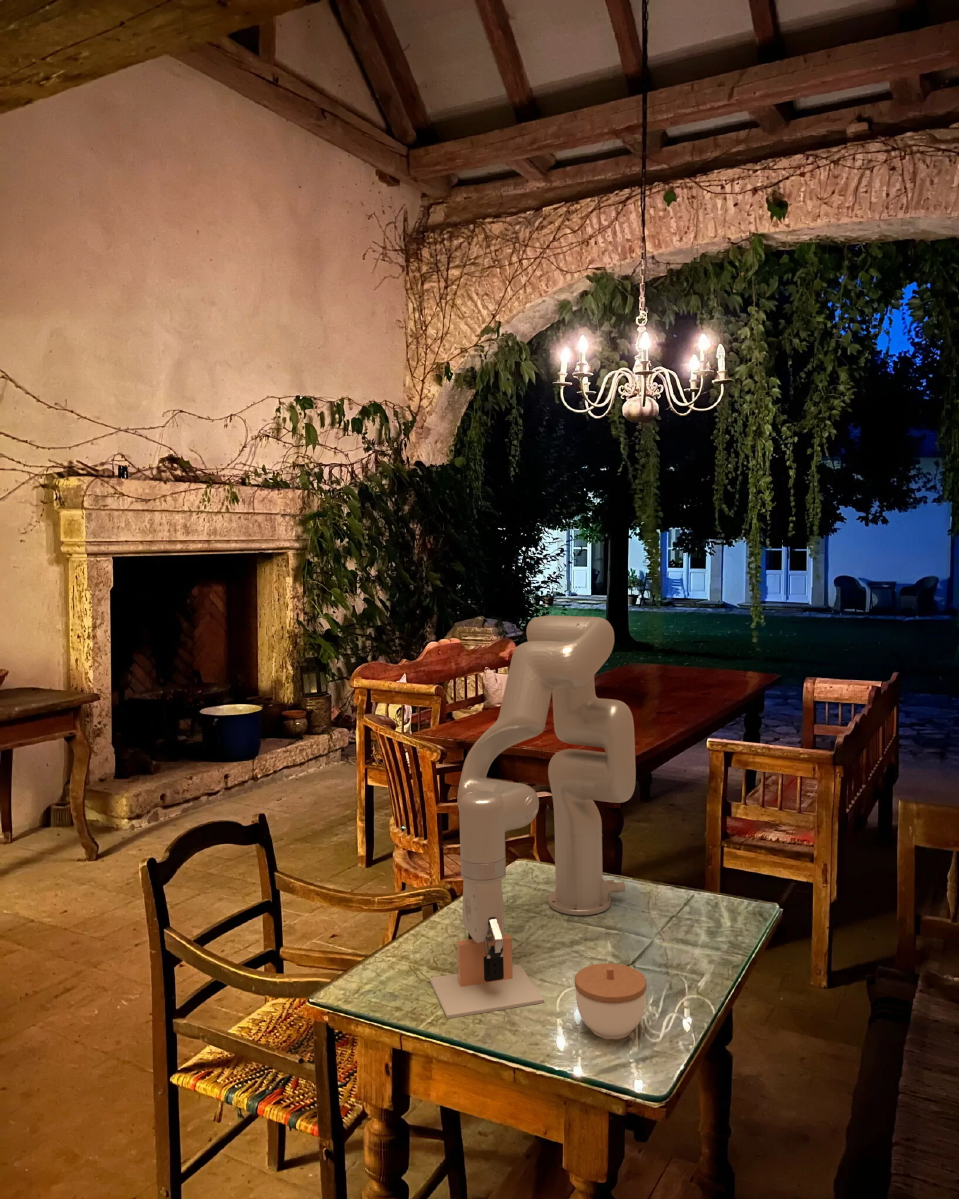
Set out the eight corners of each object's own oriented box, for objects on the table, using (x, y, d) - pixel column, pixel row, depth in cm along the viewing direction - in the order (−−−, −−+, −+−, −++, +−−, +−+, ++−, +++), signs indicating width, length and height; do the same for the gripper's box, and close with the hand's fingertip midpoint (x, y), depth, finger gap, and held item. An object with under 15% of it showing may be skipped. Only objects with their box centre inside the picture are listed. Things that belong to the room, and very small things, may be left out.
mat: (519, 967, 160) (519, 964, 160) (544, 1002, 147) (544, 999, 147) (429, 980, 155) (429, 977, 155) (447, 1018, 143) (447, 1015, 143)
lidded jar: (562, 1034, 138) (561, 974, 137) (595, 1004, 146) (594, 946, 146) (628, 1056, 131) (627, 992, 131) (658, 1022, 140) (657, 963, 140)
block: (509, 973, 156) (508, 933, 156) (512, 978, 154) (511, 938, 154) (458, 981, 154) (456, 940, 153) (460, 986, 152) (459, 945, 152)
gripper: (449, 852, 161) (452, 948, 162) (474, 888, 144) (477, 994, 145) (490, 848, 163) (493, 942, 164) (520, 882, 146) (523, 987, 147)
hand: (485, 966), depth 154 cm, fingers open, 9 cm apart
